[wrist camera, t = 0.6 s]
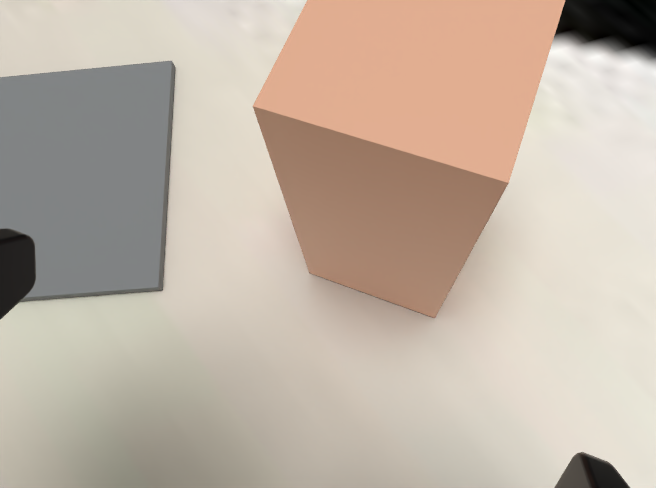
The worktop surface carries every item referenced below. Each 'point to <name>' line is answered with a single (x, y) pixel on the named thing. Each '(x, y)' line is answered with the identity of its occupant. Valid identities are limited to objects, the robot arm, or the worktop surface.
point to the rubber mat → (89, 175)
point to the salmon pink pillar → (401, 133)
